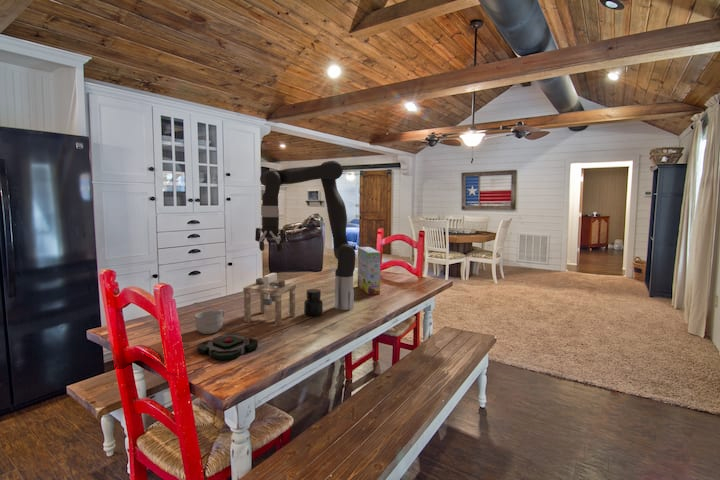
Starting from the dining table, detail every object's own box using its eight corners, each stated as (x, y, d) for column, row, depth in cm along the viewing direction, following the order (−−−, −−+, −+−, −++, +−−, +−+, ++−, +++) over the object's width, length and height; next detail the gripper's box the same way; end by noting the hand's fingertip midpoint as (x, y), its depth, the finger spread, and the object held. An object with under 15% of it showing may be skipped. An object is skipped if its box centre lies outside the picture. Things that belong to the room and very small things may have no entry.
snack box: (356, 286, 245) (357, 246, 242) (368, 285, 248) (370, 246, 245) (366, 295, 225) (368, 252, 222) (380, 294, 227) (382, 251, 224)
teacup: (206, 338, 153) (205, 319, 152) (189, 332, 159) (189, 314, 158) (234, 328, 165) (234, 310, 164) (217, 323, 171) (217, 306, 170)
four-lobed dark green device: (192, 352, 141) (191, 340, 140) (231, 337, 156) (231, 326, 155) (224, 365, 131) (224, 352, 131) (263, 348, 147) (263, 336, 146)
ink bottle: (315, 310, 193) (315, 287, 192) (326, 314, 187) (327, 290, 185) (299, 314, 186) (299, 290, 185) (310, 319, 180) (311, 294, 179)
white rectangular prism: (271, 299, 182) (271, 272, 180) (278, 300, 181) (278, 273, 179) (262, 304, 175) (262, 276, 173) (269, 305, 174) (269, 277, 172)
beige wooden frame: (295, 316, 184) (295, 278, 181) (279, 326, 168) (279, 285, 166) (262, 311, 189) (262, 274, 187) (243, 321, 174) (243, 281, 171)
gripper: (288, 215, 174) (288, 251, 176) (260, 214, 178) (261, 249, 180) (280, 216, 167) (280, 253, 169) (251, 215, 171) (252, 251, 173)
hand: (270, 251), depth 175 cm, fingers open, 8 cm apart
